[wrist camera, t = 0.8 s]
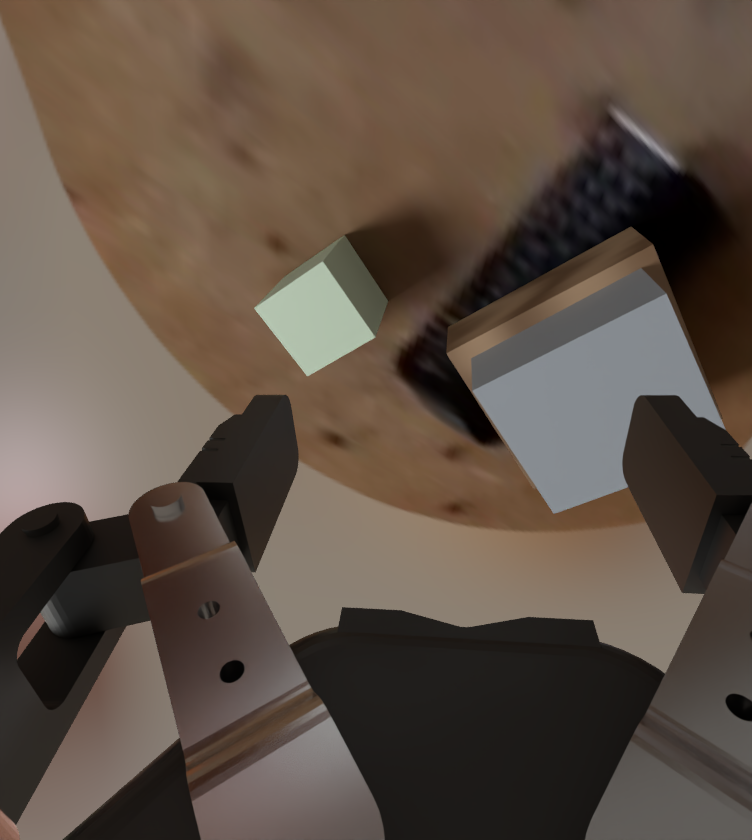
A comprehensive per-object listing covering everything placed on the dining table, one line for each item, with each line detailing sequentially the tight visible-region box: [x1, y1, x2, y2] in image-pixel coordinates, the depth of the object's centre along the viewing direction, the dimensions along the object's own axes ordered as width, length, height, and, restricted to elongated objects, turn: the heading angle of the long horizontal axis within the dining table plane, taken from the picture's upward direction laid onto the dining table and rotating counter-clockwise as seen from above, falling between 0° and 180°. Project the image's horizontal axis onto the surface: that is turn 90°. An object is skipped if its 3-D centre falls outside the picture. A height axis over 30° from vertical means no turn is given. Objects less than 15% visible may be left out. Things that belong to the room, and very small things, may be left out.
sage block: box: [254, 235, 388, 376], centre depth 31 cm, size 5×5×6 cm
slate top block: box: [471, 268, 725, 514], centre depth 29 cm, size 10×10×4 cm
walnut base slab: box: [447, 227, 723, 489], centre depth 32 cm, size 12×12×4 cm
